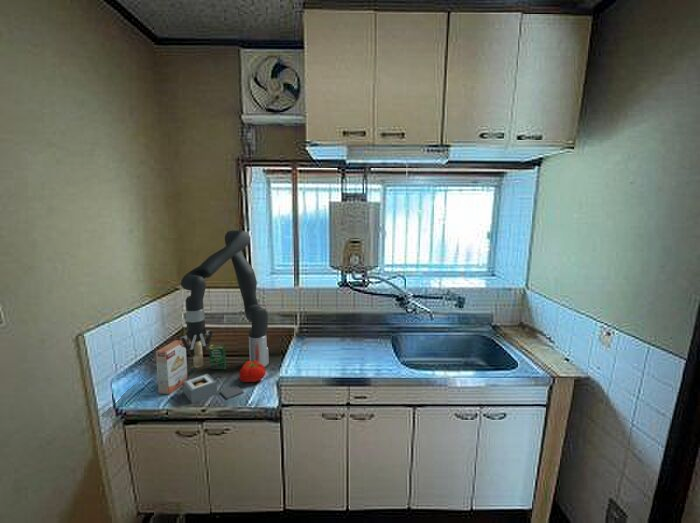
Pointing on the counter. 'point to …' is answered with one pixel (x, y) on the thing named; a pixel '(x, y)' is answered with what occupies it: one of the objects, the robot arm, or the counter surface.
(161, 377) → the cracker box
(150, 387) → the counter surface
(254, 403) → the counter surface
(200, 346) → the beige ridged cylinder
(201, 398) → the box
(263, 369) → the tomato
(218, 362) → the coffee box
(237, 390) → the mat
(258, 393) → the counter surface
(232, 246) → the robot arm
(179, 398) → the counter surface
